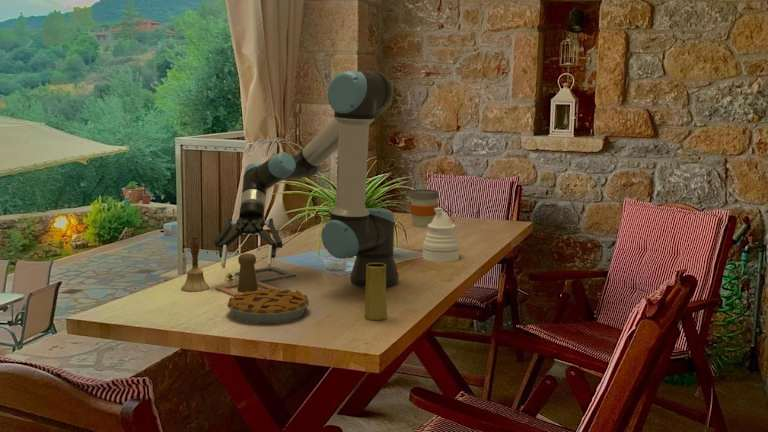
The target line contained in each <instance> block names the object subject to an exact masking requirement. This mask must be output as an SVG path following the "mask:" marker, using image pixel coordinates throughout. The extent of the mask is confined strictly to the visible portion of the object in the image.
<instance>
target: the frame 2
mask: <svg viewBox="0 0 768 432" xmlns="http://www.w3.org/2000/svg"><path fill="white" fill-rule="evenodd" d="M268 271H271V272H272V271H273V272H275V273H277V274H280V275H275V276H271V277H270V276H269V277H265V278H259V277H257V276H256V280H257V281H259V282H262V283H268V282H272V281H278V280H284V279H289V278H294V277H297V274H295V273H293V272H290V271H287V270H285V269H280V268H278V267H275V266H271V269H268V266H267V267H262V268H257V269H256V268H255V273H256V274H257V273H262V272H268ZM239 273H240V271H237V272H235V273H234V274H235V276H238V277H239Z"/></svg>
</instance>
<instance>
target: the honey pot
mask: <svg viewBox="0 0 768 432" xmlns="http://www.w3.org/2000/svg"><path fill="white" fill-rule="evenodd" d="M434 210H435V212H436V213H437V214H436V215H435V217H434V219H433V220H432V222H431V223H430V224H428V225H427V227H426V228H428V230H427V231H426V234H425V237H424V241H423V244H422V247H423V248H422V258H423V259H424V260H425V261H431V262H439V263H440V262H443V263H446V262H448V263H449V262H454V261H457V260H459V258H460V249H459V248H460V242H459V240H458V237H457V233H456V231H455V229H456V224H454V223H453V222H452V220H451V218H450V217H449V215H448V213H446V212H445V211H443V209H442V207H437V208H434Z"/></svg>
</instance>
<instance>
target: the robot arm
mask: <svg viewBox="0 0 768 432" xmlns="http://www.w3.org/2000/svg"><path fill="white" fill-rule="evenodd" d="M327 87H328V88H327V92H326V96H327V102H328V104H329V106H330V108H331V109H332V110H333V112H334V113H333V114H334V115H333V116H334V117H333V119H332V120H331V121H330V122H329V123H328V124H327V125H326V126H325V127H324V128H323V129H322V130H321V131H320V132H319V133H318V134H317V135H316V136H315V137H314V138H313V139H312V140H311V141H309V142H308V143H307V144H306V146H305V147H303V148H302V149H301V150H299V152H298V153H297V154H293V155H292V154H289V153H287V152H285V151H282V152H278V153H277V154H274V155H273V156H271V157H270V158H269V159H267V160H266V161H265V162H263V163H260V162H254V163H249V164H248V165H246V167H245V169H244V173H243V174H244V175H243V178H242V179H243V180H242V188H241V197H240V198H241V199H240V204H239V205H240V206H239V214H238V218H237V220H236V219H235V220H234V219H233V218H232V217H229V218H227V222H226V225H225V226H224V227H223V228H222V230H221V231H220V232H219V234H218V235H217V236H216V238H215V239H214V241H213V242H214V246H215V248H219V250H218V254H219V258H221V262H220V264H221V267H222V269H226V262H227V257H228V255H227V254H228V248H227V247H228V246H230V244H232V243H233V242H234V241H235V240H236V239H237V238H239V237H241V236H242V235H244V234H245V235H256V234H257V235H259V236H260V237H261V238H262V239H263V240H264V241H265V243H267V244H268V256H267V267H268V269H271V267H272V262H273V261H272V259H273V258H275V259H276V257H277V256H276V255H277V249H278V248H280V249H282V248H283V247H284V246H283V241H282V239H281V237H280V235H279V233H278V231H277V229H276V227H275V226H274V225H275V224H274V219H273V218H269V219H268V220H264V219H265V208H266V201H267V200H266V198H267V190H268V189H270V188H272V187H273V186H275V185H276V184H278V183H280V182H283V181H290V180H295V179H296V180H297V179H303V178H304V179H305V178H311V177H313V176H315V175H317V174H318V173H319V171H320V169H321V164H323V163H324V162H325V161H326V160H327V159H329V157H330V156H331V155H333V154H334V153H335V152H336V151H337V163H336V164H337V165H336V166H337V167H336V190H335V191H336V192H335V205H334V207H332V208H331V209H330V211H329V221H327V222H326V223H325V225H324V226H322V229H321V235H320V236H321V242H322V244H323V247H324V248H325V250H327V253H328V254H330V255H331V256H332V257H334V258H336V259H339V260H340V259H341V260H344V259H352V258H354V257H355V260H354V263H353V266H352V271H351V273H350V275H349V279H350V280H349V281H350V283H351V285H355V286H357V287H362V288H363V287H364V288H366V265H367V264H369V263H383V264H386V288H387V287H388V288H389V287H392V286H395V285H398V284H399V282H400V279H399V278H400V275H399V273H398V269H397V264H396V262H395V258H394V241H395V240H394V239H395V238H394V237H395V236H394V235H395V217H394V212H392V211H391V210H390V209H382V208H373V207H372V208H369V207H366V191H367V174H368V155H369V153H368V152H369V134H370V133H369V132H370V125H371V123H373V122H374V121H375V119H377V118H378V117H379V116H380V115H381V114H382V113H383V112H384V111H385V110H386V109H387V108H388V107H389V105H390V103H391V102H392V100H393V97H394V88H393V84H392V82H391V80H390V78H388V76H386V75H385V74H384V73H382V72H380V71H375V70H354V69H353V70H344V71H341V72H339V73H337V74H336V75H335V76H334V77H333V78H332V79H331V81H330V82H329V85H328V86H327ZM235 226H236V227H235ZM265 226H266V227H267V228H268V229H269V230H270V232H271V235H272V237H273V238H274V239H273V238H272V237H271V235H269V233H268V232H267V231H266V230H264V227H265ZM233 228H235V229H234V230H233V231H232V229H233ZM231 231H232V232H231Z"/></svg>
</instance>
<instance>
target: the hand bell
mask: <svg viewBox="0 0 768 432" xmlns="http://www.w3.org/2000/svg"><path fill="white" fill-rule="evenodd" d="M189 245H190V247H189V250H190V253H191V258H192V259H191V260H192V262H191V269H188V270H187V274H186V275H187V276H186V280H185V282H184V283H183V285H182V286H181V288H180V289H181V290H182V291H184V292H189V291H190V292H191V293H194V292H196V293H197V292H198V291H199V292H203V291H208V290H209V289H210V286H209V284H208V283H207V282H206V280H205V277H204V272H203V269H200V268H199V262H198V261H199V260H198V258H199V251H200V242H199V239H198V236H197V235H193V236H192V237H191V241H190V244H189ZM192 291H193V292H192ZM190 292H189V293H190Z"/></svg>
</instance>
